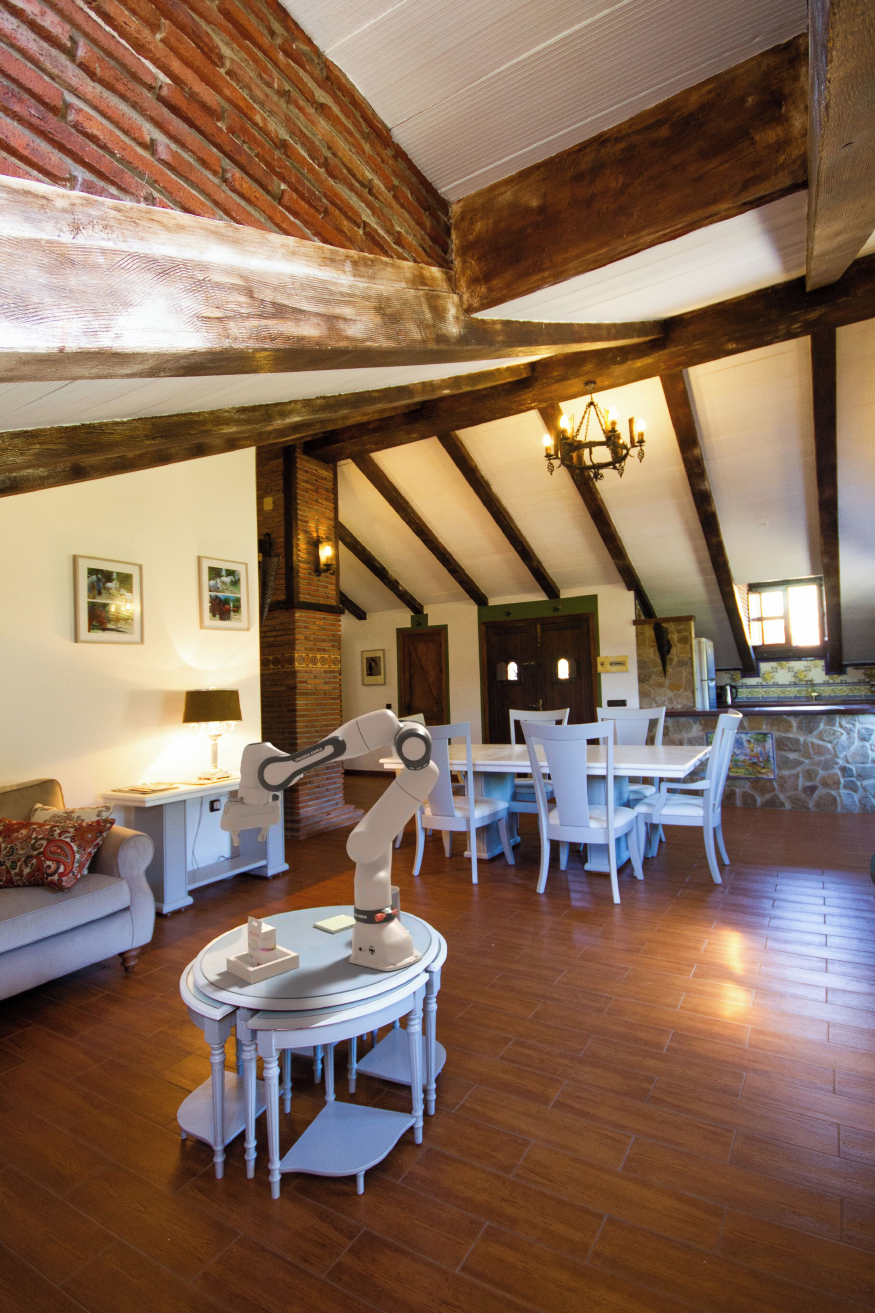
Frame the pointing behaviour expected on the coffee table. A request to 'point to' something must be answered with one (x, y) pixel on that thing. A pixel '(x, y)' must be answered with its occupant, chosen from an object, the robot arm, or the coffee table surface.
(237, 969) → the cartridge dock
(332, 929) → the cream square pad
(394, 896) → the pillar candle
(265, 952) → the ink cartridge box
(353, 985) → the coffee table surface
